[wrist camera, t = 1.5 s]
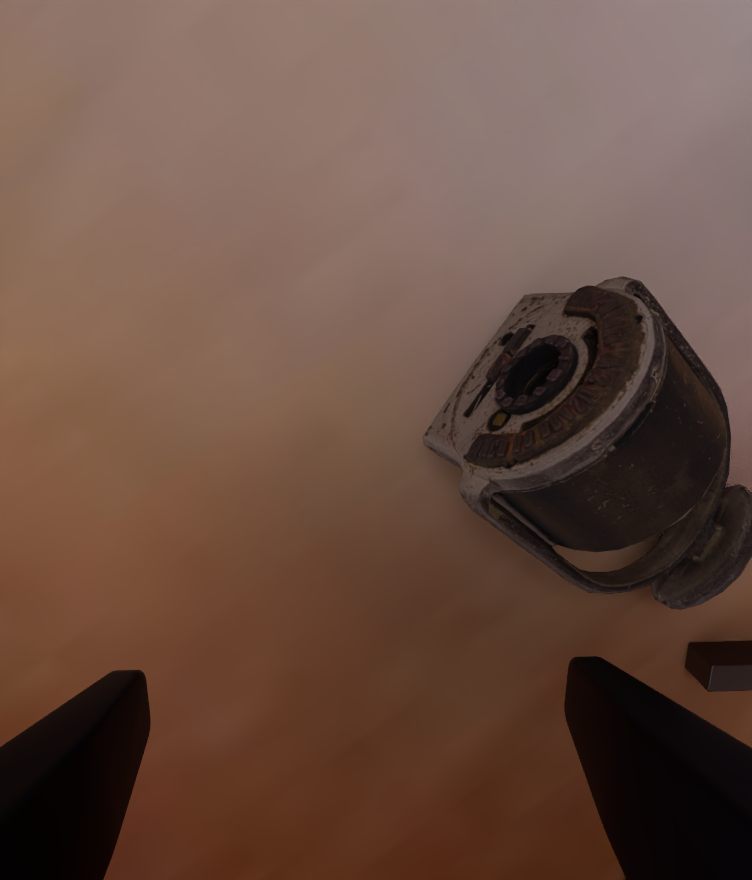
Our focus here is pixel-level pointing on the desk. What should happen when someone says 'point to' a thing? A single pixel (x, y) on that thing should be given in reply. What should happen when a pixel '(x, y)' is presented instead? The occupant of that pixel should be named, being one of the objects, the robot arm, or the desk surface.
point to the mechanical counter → (601, 443)
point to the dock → (721, 665)
